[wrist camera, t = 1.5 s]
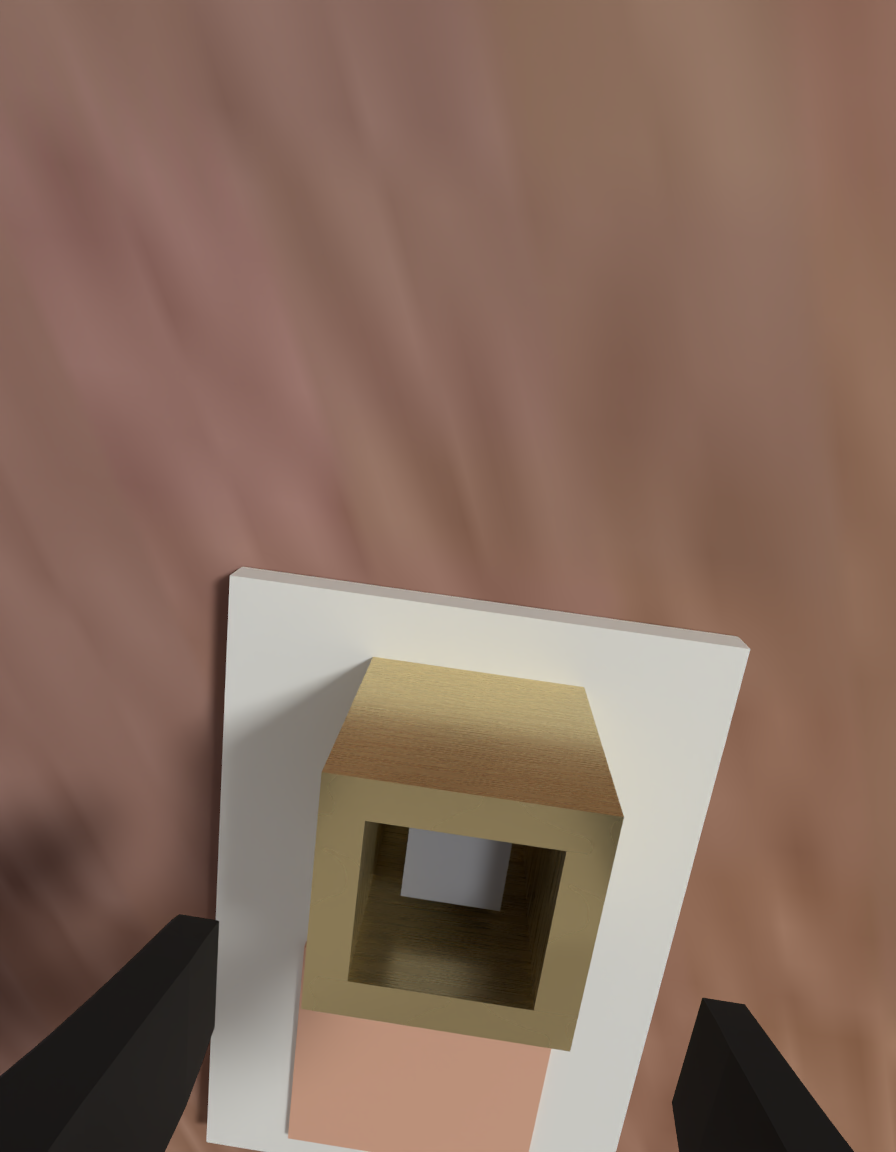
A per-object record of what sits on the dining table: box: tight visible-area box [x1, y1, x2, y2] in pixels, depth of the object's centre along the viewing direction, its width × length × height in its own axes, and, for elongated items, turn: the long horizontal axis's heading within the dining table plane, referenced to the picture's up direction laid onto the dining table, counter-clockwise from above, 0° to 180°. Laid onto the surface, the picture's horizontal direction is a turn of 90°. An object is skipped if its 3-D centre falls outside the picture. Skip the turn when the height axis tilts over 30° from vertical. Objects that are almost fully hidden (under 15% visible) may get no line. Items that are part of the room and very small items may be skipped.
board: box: [207, 567, 750, 1152], centre depth 17 cm, size 12×18×4 cm, turn 173°
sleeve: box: [301, 657, 624, 1052], centre depth 14 cm, size 5×5×5 cm
